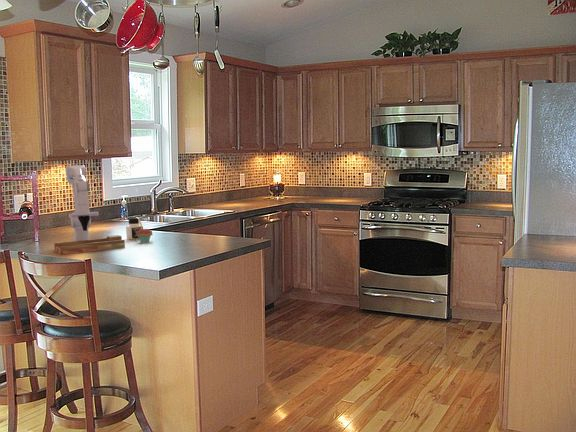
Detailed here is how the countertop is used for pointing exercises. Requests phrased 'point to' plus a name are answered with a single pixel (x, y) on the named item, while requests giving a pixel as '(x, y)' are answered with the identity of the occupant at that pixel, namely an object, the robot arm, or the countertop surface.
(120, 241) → the box
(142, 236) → the cupcake
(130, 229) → the medicine bottle
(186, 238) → the countertop surface
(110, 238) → the walnut block
